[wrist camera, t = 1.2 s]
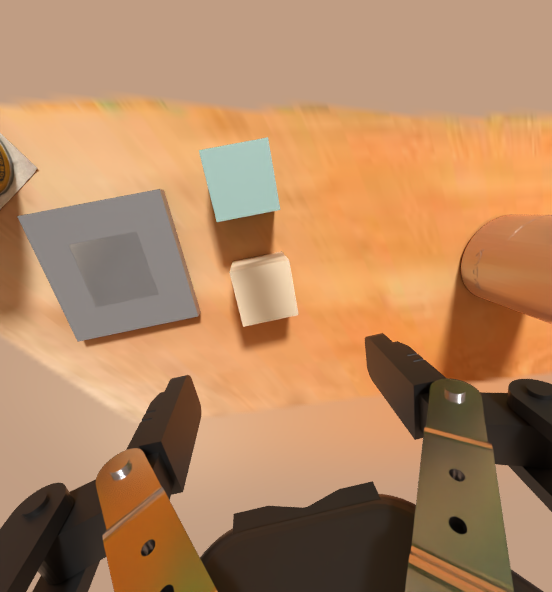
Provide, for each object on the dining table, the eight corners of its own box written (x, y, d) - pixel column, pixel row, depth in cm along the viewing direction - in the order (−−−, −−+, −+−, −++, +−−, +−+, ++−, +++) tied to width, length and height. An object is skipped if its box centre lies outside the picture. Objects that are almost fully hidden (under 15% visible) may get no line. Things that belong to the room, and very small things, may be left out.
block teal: (264, 152, 23) (267, 137, 19) (274, 210, 25) (280, 209, 20) (209, 162, 23) (198, 150, 19) (222, 220, 25) (216, 222, 20)
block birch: (281, 251, 26) (289, 260, 22) (289, 297, 28) (298, 314, 23) (232, 261, 26) (229, 272, 21) (243, 307, 28) (243, 326, 23)
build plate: (163, 190, 24) (159, 189, 22) (200, 312, 27) (198, 316, 26) (28, 216, 23) (17, 216, 22) (85, 336, 27) (77, 341, 26)
